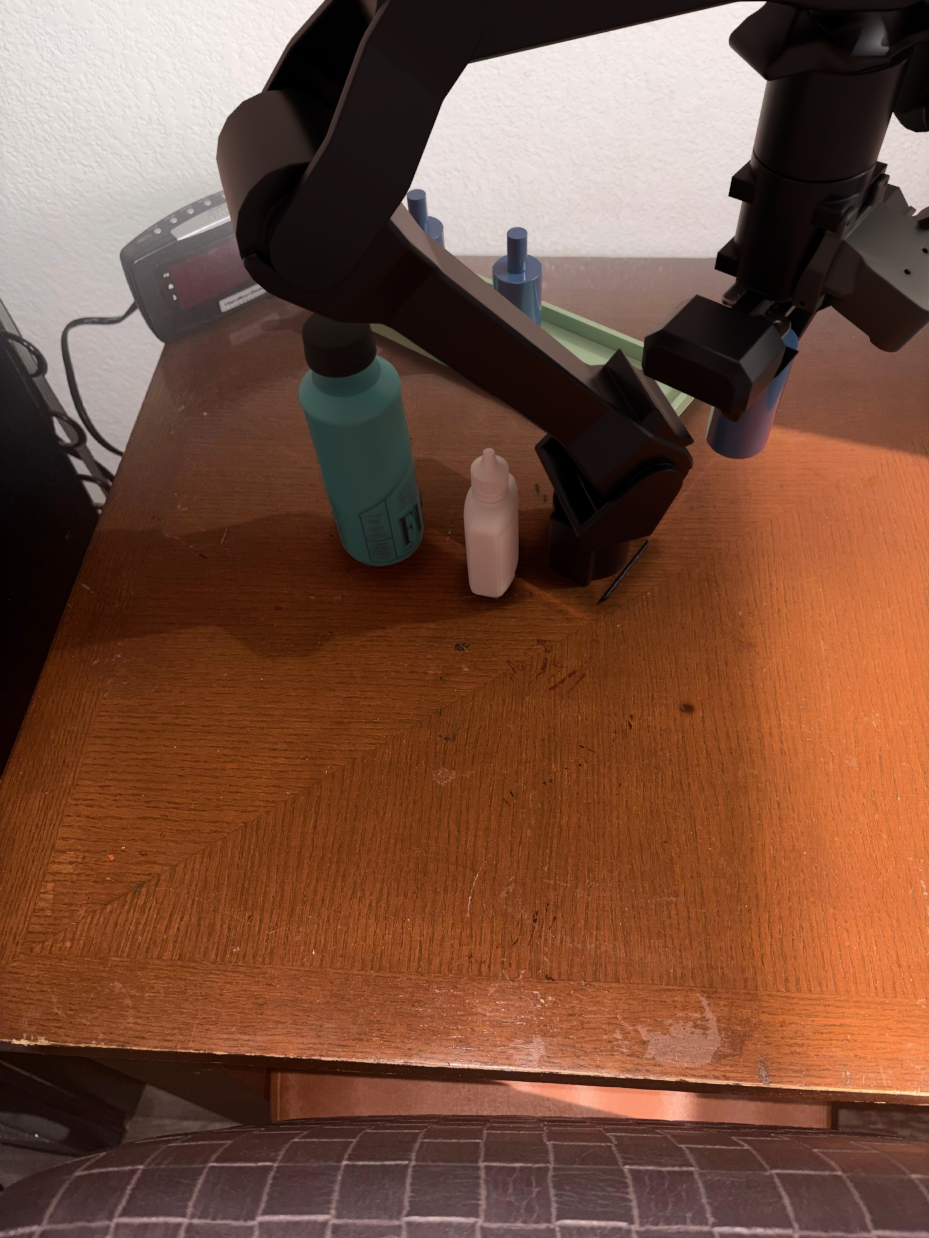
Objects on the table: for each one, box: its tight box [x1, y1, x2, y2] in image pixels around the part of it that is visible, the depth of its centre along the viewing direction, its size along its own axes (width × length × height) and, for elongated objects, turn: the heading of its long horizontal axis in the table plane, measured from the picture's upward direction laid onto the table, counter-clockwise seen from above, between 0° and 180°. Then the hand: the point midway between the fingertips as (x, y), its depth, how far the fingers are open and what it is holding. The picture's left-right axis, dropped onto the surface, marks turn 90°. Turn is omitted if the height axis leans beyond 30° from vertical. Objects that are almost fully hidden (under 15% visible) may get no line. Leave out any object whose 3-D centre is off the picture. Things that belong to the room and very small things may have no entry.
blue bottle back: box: [405, 188, 446, 249], centre depth 73 cm, size 4×4×11 cm
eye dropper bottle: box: [463, 447, 520, 598], centre depth 57 cm, size 4×6×12 cm
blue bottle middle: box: [491, 226, 543, 327], centre depth 69 cm, size 4×4×11 cm
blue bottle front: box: [705, 315, 800, 460], centre depth 52 cm, size 4×4×11 cm
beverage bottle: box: [297, 313, 426, 567], centre depth 55 cm, size 6×7×20 cm
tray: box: [370, 272, 695, 417], centre depth 74 cm, size 10×31×2 cm, turn 53°
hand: (748, 398), depth 53 cm, fingers closed on blue bottle front, 4 cm apart
